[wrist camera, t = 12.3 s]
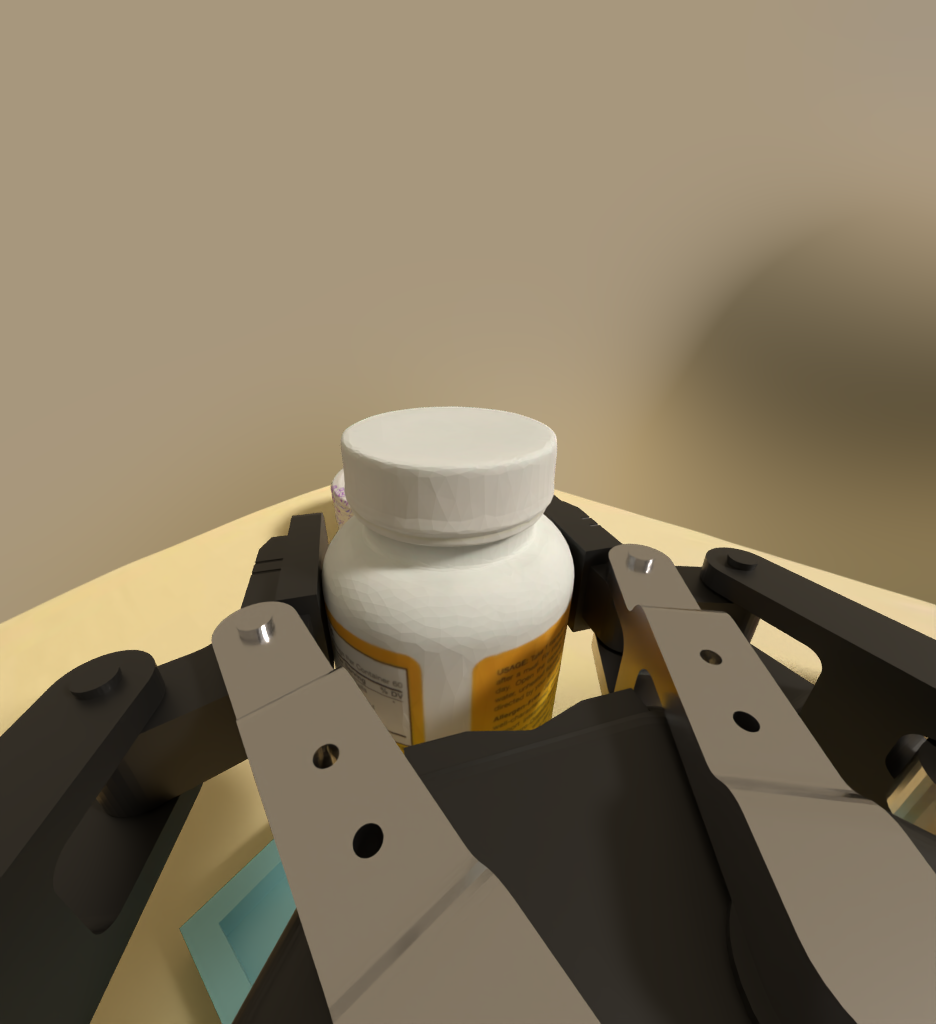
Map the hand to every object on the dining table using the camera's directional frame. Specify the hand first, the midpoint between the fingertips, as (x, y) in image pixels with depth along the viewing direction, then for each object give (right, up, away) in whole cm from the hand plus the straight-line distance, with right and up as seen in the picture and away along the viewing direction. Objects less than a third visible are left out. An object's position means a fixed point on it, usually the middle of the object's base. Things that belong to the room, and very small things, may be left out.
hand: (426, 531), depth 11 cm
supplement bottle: (+1, -7, +1) cm, 7 cm away
